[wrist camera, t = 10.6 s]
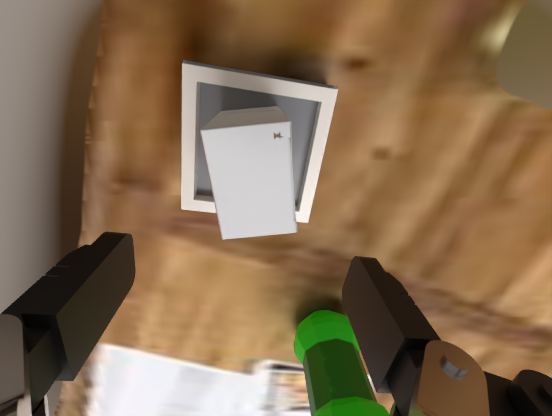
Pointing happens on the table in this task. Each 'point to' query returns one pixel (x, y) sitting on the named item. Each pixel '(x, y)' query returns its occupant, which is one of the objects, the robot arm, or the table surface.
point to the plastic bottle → (334, 367)
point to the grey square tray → (243, 95)
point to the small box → (251, 171)
